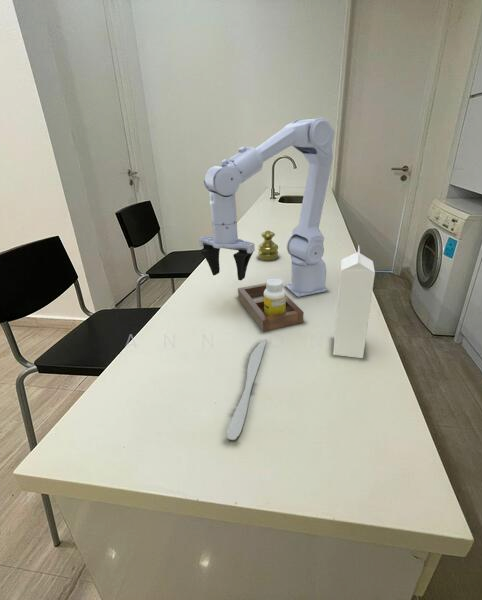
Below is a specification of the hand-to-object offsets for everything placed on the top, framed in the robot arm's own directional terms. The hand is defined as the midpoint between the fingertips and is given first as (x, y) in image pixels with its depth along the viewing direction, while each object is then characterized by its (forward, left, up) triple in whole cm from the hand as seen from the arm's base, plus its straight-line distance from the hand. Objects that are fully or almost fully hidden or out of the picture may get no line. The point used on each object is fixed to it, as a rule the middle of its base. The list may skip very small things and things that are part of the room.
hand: (228, 276), depth 83 cm
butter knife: (+5, +28, -10) cm, 30 cm away
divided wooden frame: (-9, +3, -10) cm, 14 cm away
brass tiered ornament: (-24, -34, -10) cm, 43 cm away
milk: (-18, +26, -10) cm, 33 cm away
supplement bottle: (-9, +8, -10) cm, 16 cm away
